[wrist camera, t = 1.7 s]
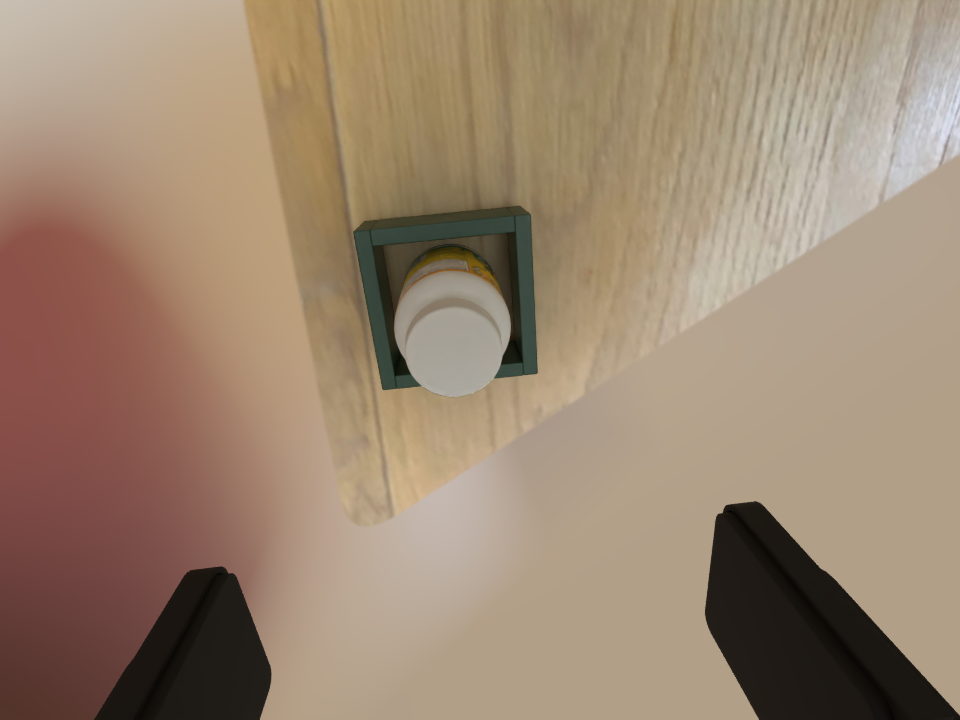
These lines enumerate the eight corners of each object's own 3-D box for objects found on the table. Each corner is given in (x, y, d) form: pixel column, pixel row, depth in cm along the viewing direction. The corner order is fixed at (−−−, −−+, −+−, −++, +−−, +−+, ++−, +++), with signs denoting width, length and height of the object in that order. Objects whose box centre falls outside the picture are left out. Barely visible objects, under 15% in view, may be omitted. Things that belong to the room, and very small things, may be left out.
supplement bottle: (395, 250, 28) (372, 299, 19) (490, 235, 28) (511, 278, 19) (414, 339, 30) (401, 420, 21) (502, 325, 30) (526, 400, 21)
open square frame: (363, 221, 27) (352, 231, 24) (520, 205, 27) (530, 213, 24) (389, 364, 30) (382, 390, 27) (528, 350, 31) (537, 374, 27)
